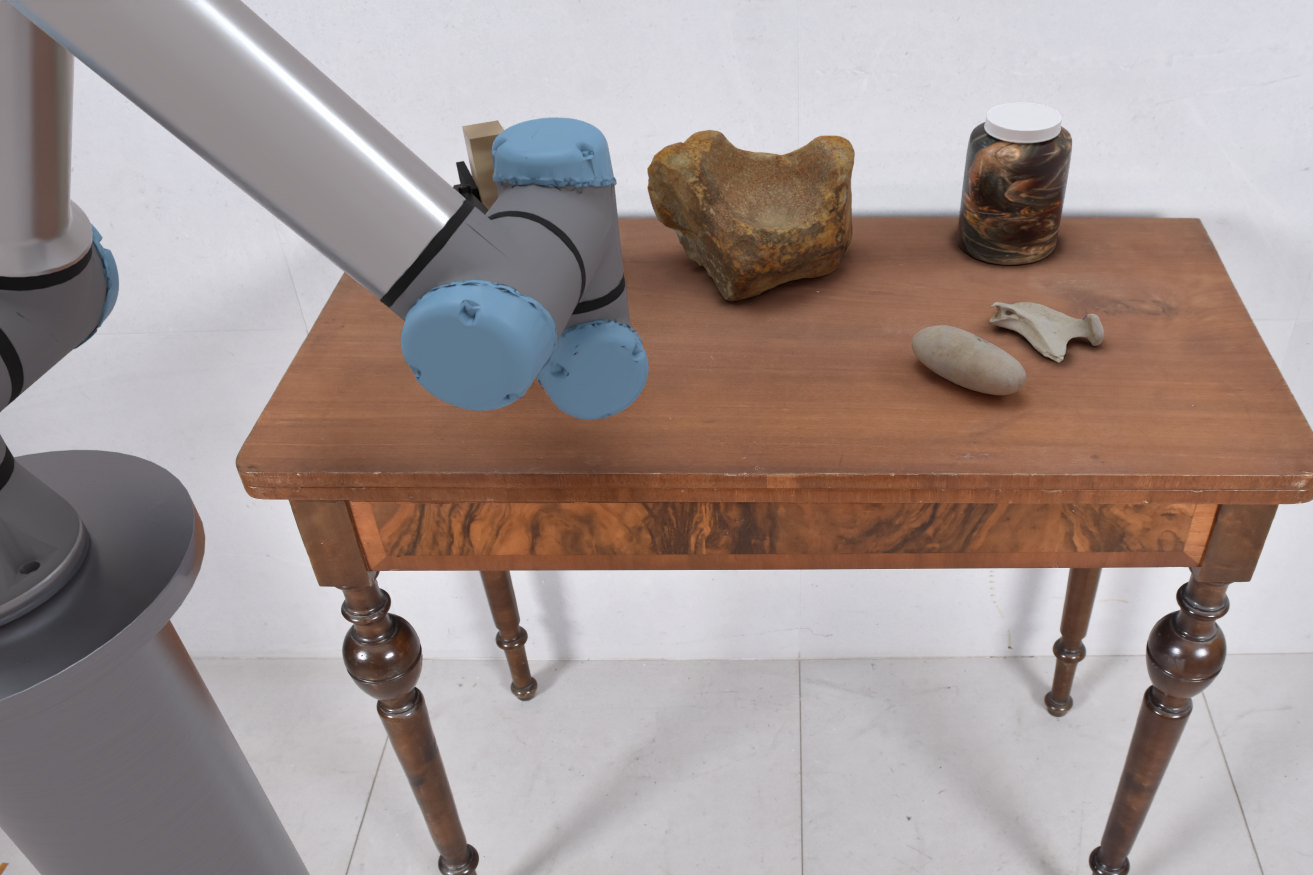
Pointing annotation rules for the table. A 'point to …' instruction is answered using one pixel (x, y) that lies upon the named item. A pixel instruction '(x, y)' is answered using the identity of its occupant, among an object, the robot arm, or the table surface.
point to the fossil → (1047, 326)
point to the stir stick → (482, 158)
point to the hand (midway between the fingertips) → (483, 172)
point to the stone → (968, 360)
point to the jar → (1014, 184)
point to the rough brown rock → (756, 209)
